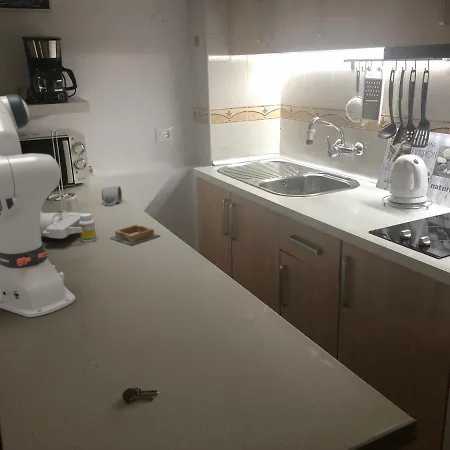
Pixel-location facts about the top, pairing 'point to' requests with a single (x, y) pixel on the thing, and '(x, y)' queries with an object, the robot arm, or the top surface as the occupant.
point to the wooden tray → (134, 235)
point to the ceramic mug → (111, 195)
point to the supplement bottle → (87, 228)
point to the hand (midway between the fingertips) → (88, 225)
